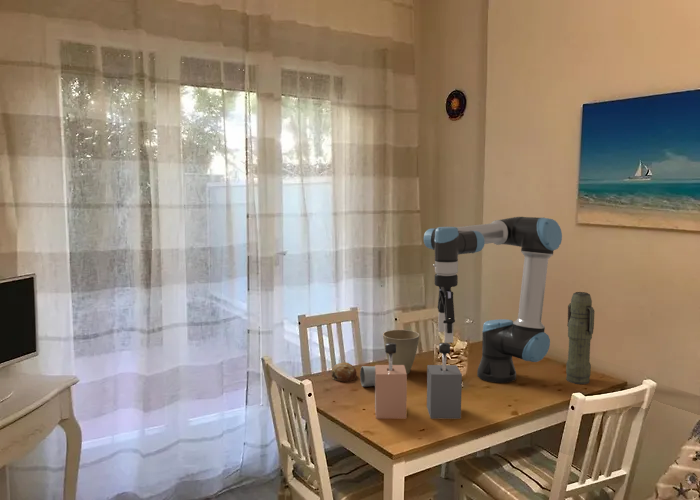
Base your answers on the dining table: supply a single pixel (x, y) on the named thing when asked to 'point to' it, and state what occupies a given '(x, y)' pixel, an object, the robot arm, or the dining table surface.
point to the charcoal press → (444, 392)
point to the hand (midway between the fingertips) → (445, 336)
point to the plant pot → (402, 347)
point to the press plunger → (390, 352)
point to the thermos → (579, 338)
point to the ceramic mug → (367, 376)
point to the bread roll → (343, 372)
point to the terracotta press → (390, 391)
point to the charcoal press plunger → (444, 353)
